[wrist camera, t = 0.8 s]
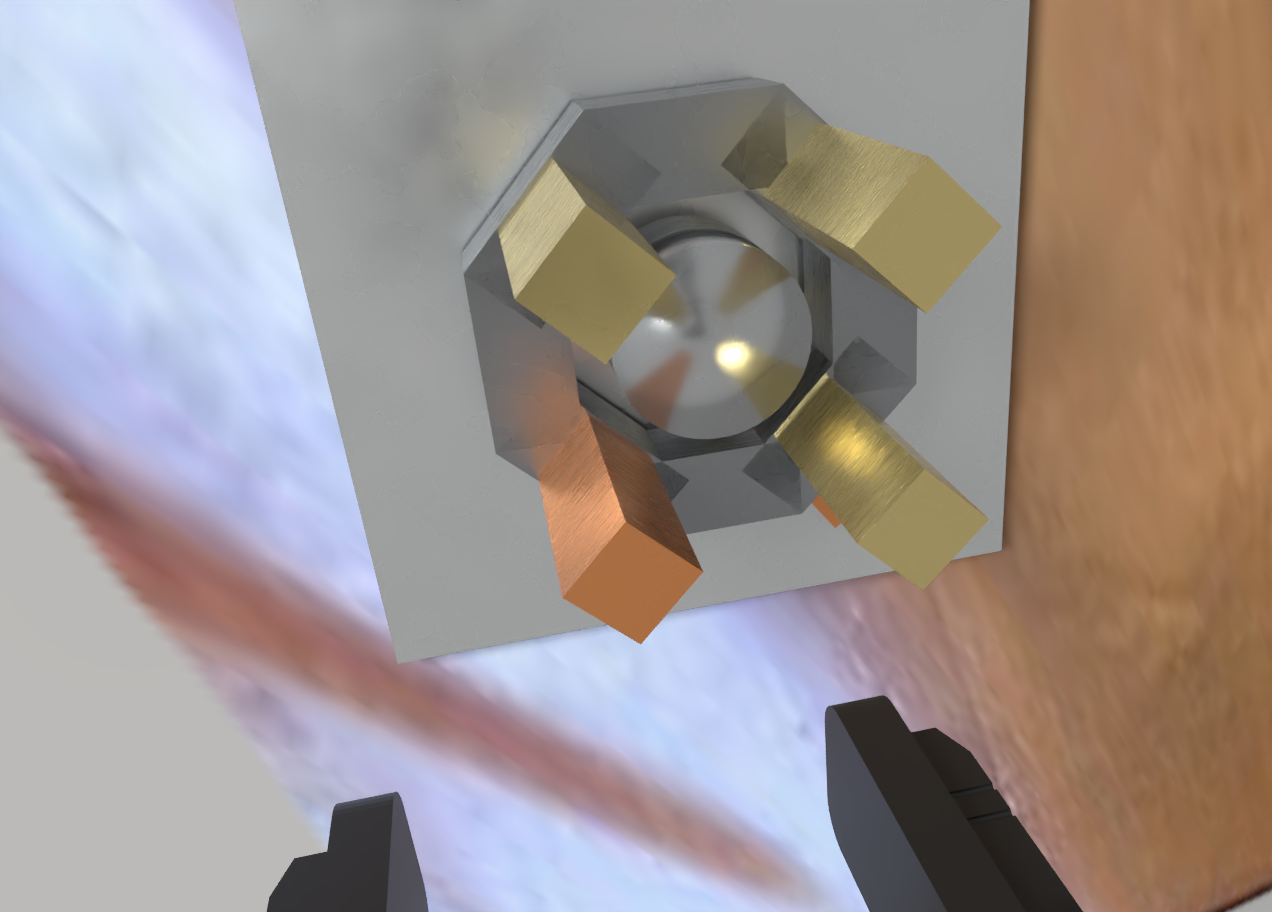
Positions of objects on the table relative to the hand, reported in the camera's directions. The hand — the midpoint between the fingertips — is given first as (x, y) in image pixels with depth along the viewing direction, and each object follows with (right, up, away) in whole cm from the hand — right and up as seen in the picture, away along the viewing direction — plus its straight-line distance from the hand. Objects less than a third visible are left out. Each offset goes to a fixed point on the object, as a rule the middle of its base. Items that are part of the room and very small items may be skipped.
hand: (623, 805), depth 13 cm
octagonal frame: (+2, +9, +19) cm, 21 cm away
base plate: (+1, +9, +20) cm, 22 cm away
